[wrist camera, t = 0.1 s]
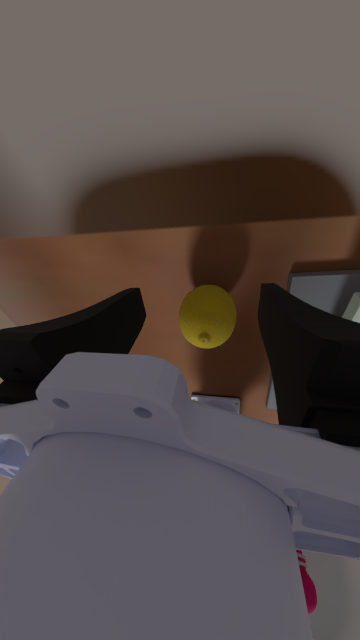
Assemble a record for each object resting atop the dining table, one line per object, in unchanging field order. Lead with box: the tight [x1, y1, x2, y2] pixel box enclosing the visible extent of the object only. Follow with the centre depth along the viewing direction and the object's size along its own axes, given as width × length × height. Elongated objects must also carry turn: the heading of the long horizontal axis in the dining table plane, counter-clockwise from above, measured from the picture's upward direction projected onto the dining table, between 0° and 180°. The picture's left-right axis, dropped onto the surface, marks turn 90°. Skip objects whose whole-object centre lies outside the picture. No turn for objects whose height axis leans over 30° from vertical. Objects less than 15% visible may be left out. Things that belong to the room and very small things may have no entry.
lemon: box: [179, 285, 237, 348], centre depth 20 cm, size 6×6×8 cm
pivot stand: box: [266, 269, 360, 410], centre depth 23 cm, size 22×16×4 cm
